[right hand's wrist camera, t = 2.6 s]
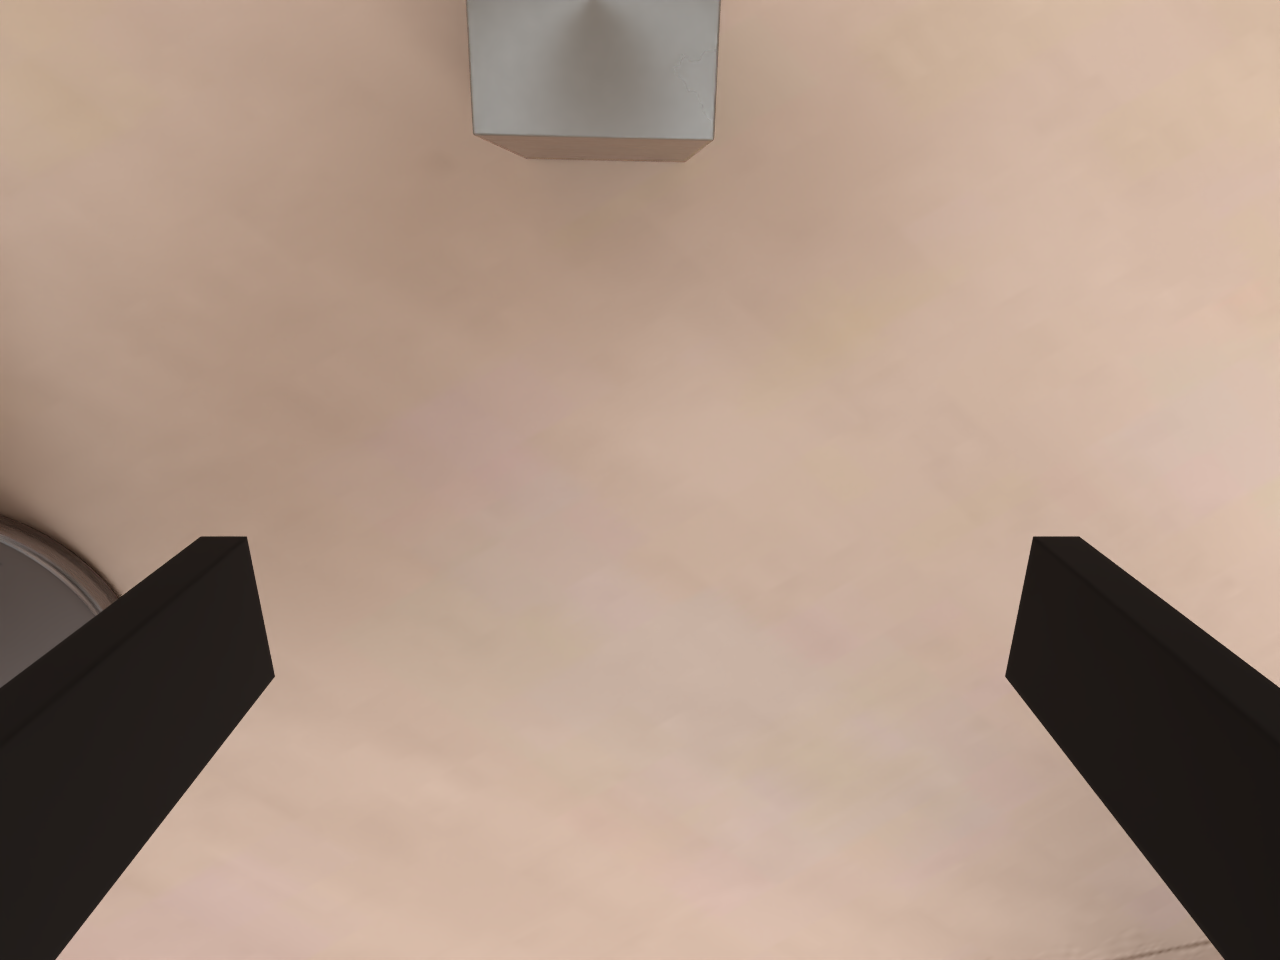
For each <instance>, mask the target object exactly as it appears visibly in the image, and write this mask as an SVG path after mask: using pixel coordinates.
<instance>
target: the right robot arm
mask: <svg viewBox="0 0 1280 960" xmlns="http://www.w3.org/2000/svg"><path fill="white" fill-rule="evenodd" d="M274 677H275V675H274V670H273V665H272V660H271V655H270V650H269V645H268V640H267V635H266V630H265V625H264V620H263V615H262V610H261V605H260V600H259V595H258V590H257V585H256V580H255V575H254V570H253V565H252V560H251V555H250V550H249V545H248V540H247V537H200V538H198V539H197V540H196V541H194V542H193V543H192V544H190V545H189V546H188V547H186V548H185V549H184V550H182V551H181V552H180V553H178V554H177V555H176V556H174V557H173V558H172V559H170V560H169V561H168V562H166V563H165V564H164V565H163V566H161V567H160V568H159V569H157V570H156V571H155V572H153V573H152V574H151V575H149V576H148V577H147V578H145V579H144V580H143V581H141V582H140V583H139V584H137V585H136V586H135V587H133V588H132V589H131V590H129V591H128V592H127V593H125V594H124V595H123V596H121V597H120V598H119V599H118V597H117V596H116V595H115V593H114V592H113V591H112V589H111V588H110V587H109V586H108V585H107V584H106V583H105V581H104V580H103V579H102V578H101V577H100V576H99V575H98V574H97V573H96V572H95V571H94V570H93V569H92V568H91V567H90V566H89V565H87V564H86V563H85V562H84V561H82V560H81V559H80V558H79V557H78V556H76V555H75V554H74V553H72V552H71V551H70V550H68V549H67V548H65V547H64V546H62V545H61V544H60V543H58V542H56V541H55V540H53V539H51V538H50V537H48V536H46V535H45V534H43V533H41V532H39V531H37V530H35V529H33V528H31V527H29V526H26V525H24V524H22V523H19V522H17V521H14V520H12V519H9V518H6V517H3V516H0V960H55V959H56V958H57V957H58V956H59V954H60V953H61V952H62V950H63V949H64V948H65V947H66V945H67V944H68V943H69V941H70V940H71V939H72V938H73V936H74V935H75V934H76V932H77V931H78V930H79V929H80V927H81V926H82V925H83V923H84V922H85V921H86V919H87V918H88V917H89V916H90V914H91V913H92V912H93V910H94V909H95V908H96V907H97V905H98V904H99V903H100V901H101V900H102V899H103V898H104V896H105V895H106V894H107V892H108V891H109V890H110V889H111V887H112V886H113V885H114V883H115V882H116V881H117V879H118V878H119V877H120V876H121V874H122V873H123V872H124V870H125V869H126V868H127V867H128V865H129V864H130V863H131V861H132V860H133V859H134V858H135V856H136V855H137V854H138V852H139V851H140V850H141V849H142V847H143V846H144V845H145V843H146V842H147V841H148V839H149V838H150V837H151V836H152V834H153V833H154V832H155V830H156V829H157V828H158V827H159V825H160V824H161V823H162V821H163V820H164V819H165V818H166V816H167V815H168V814H169V812H170V811H171V810H172V809H173V807H174V806H175V805H176V803H177V802H178V801H179V799H180V798H181V797H182V796H183V794H184V793H185V792H186V790H187V789H188V788H189V787H190V785H191V784H192V783H193V781H194V780H195V779H196V778H197V776H198V775H199V774H200V772H201V771H202V770H203V768H204V767H205V766H206V765H207V763H208V762H209V761H210V759H211V758H212V757H213V756H214V754H215V753H216V752H217V750H218V749H219V748H220V747H221V745H222V744H223V743H224V741H225V740H226V739H227V738H228V736H229V735H230V734H231V732H232V731H233V730H234V728H235V727H236V726H237V725H238V723H239V722H240V721H241V719H242V718H243V717H244V716H245V714H246V713H247V712H248V710H249V709H250V708H251V707H252V705H253V704H254V703H255V701H256V700H257V699H258V698H259V696H260V695H261V694H262V692H263V691H264V690H265V688H266V687H267V686H268V685H269V683H270V682H271V681H272V679H273V678H274ZM1005 677H1006V678H1007V679H1008V681H1009V682H1010V683H1011V685H1012V686H1013V687H1014V688H1015V690H1016V691H1017V692H1018V694H1019V695H1020V696H1021V698H1022V699H1023V700H1024V701H1025V703H1026V704H1027V705H1028V707H1029V708H1030V709H1031V710H1032V712H1033V713H1034V714H1035V716H1036V717H1037V718H1038V719H1039V721H1040V722H1041V723H1042V725H1043V726H1044V727H1045V728H1046V730H1047V731H1048V732H1049V734H1050V735H1051V736H1052V738H1053V739H1054V740H1055V741H1056V743H1057V744H1058V745H1059V747H1060V748H1061V749H1062V750H1063V752H1064V753H1065V754H1066V756H1067V757H1068V758H1069V759H1070V761H1071V762H1072V763H1073V765H1074V766H1075V767H1076V768H1077V770H1078V771H1079V772H1080V774H1081V775H1082V776H1083V778H1084V779H1085V780H1086V781H1087V783H1088V784H1089V785H1090V787H1091V788H1092V789H1093V790H1094V792H1095V793H1096V794H1097V796H1098V797H1099V798H1100V799H1101V801H1102V802H1103V803H1104V805H1105V806H1106V807H1107V809H1108V810H1109V811H1110V812H1111V814H1112V815H1113V816H1114V818H1115V819H1116V820H1117V821H1118V823H1119V824H1120V825H1121V827H1122V828H1123V829H1124V830H1125V832H1126V833H1127V834H1128V836H1129V837H1130V838H1131V839H1132V841H1133V842H1134V843H1135V845H1136V846H1137V847H1138V849H1139V850H1140V851H1141V852H1142V854H1143V855H1144V856H1145V858H1146V859H1147V860H1148V861H1149V863H1150V864H1151V865H1152V867H1153V868H1154V869H1155V870H1156V872H1157V873H1158V874H1159V876H1160V877H1161V878H1162V879H1163V881H1164V882H1165V883H1166V885H1167V886H1168V887H1169V889H1170V890H1171V891H1172V892H1173V894H1174V895H1175V896H1176V898H1177V899H1178V900H1179V901H1180V903H1181V904H1182V905H1183V907H1184V908H1185V909H1186V910H1187V912H1188V913H1189V914H1190V916H1191V917H1192V918H1193V919H1194V921H1195V922H1196V923H1197V925H1198V926H1199V927H1200V929H1201V930H1202V931H1203V932H1204V934H1205V935H1206V936H1207V938H1208V939H1209V940H1210V941H1211V943H1212V944H1213V945H1214V947H1215V948H1216V949H1217V950H1218V952H1219V953H1220V954H1221V956H1222V957H1223V958H1224V959H1225V960H1280V688H1279V687H1278V686H1277V685H1275V684H1274V683H1273V682H1271V681H1270V680H1269V679H1267V678H1266V677H1265V676H1263V675H1262V674H1261V673H1259V672H1258V671H1257V670H1255V669H1254V668H1253V667H1251V666H1250V665H1249V664H1247V663H1246V662H1245V661H1243V660H1242V659H1241V658H1239V657H1238V656H1237V655H1235V654H1234V653H1233V652H1231V651H1230V650H1229V649H1227V648H1226V647H1225V646H1224V645H1222V644H1221V643H1220V642H1218V641H1217V640H1216V639H1214V638H1213V637H1212V636H1210V635H1209V634H1208V633H1206V632H1205V631H1204V630H1202V629H1201V628H1200V627H1198V626H1197V625H1196V624H1194V623H1193V622H1192V621H1190V620H1189V619H1188V618H1186V617H1185V616H1184V615H1182V614H1181V613H1180V612H1178V611H1177V610H1176V609H1174V608H1173V607H1172V606H1171V605H1169V604H1168V603H1167V602H1165V601H1164V600H1163V599H1161V598H1160V597H1159V596H1157V595H1156V594H1155V593H1153V592H1152V591H1151V590H1149V589H1148V588H1147V587H1145V586H1144V585H1143V584H1141V583H1140V582H1139V581H1137V580H1136V579H1135V578H1133V577H1132V576H1131V575H1129V574H1128V573H1127V572H1125V571H1124V570H1123V569H1121V568H1120V567H1119V566H1117V565H1116V564H1115V563H1114V562H1112V561H1111V560H1110V559H1108V558H1107V557H1106V556H1104V555H1103V554H1102V553H1100V552H1099V551H1098V550H1096V549H1095V548H1094V547H1092V546H1091V545H1090V544H1088V543H1087V542H1086V541H1084V540H1083V539H1082V538H1080V537H1033V540H1032V545H1031V550H1030V555H1029V560H1028V565H1027V570H1026V575H1025V580H1024V585H1023V590H1022V595H1021V600H1020V605H1019V610H1018V615H1017V620H1016V625H1015V630H1014V635H1013V640H1012V645H1011V650H1010V655H1009V660H1008V665H1007V670H1006V675H1005Z"/></svg>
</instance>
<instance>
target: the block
mask: <svg viewBox="0 0 1280 960" xmlns="http://www.w3.org/2000/svg"><path fill="white" fill-rule="evenodd" d="M720 6H721V0H466V11H467V29H468V48H469V67H470V86H471V105H472V124H473V134H474V135H475V136H478V137H480V138H482V139H484V140H486V141H489V142H491V143H493V144H495V145H497V146H500V147H502V148H504V149H506V150H508V151H511V152H513V153H515V154H517V155H519V156H522V157H524V158H526V159H569V160H615V161H661V162H686V161H687V160H688V159H690V158H691V157H692V156H693V155H695V154H696V153H697V152H699V151H700V150H701V149H702V148H704V147H705V146H706V145H708V144H709V143H710V142H711V141H713V140H714V128H715V108H716V87H717V67H718V47H719V26H720Z"/></svg>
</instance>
